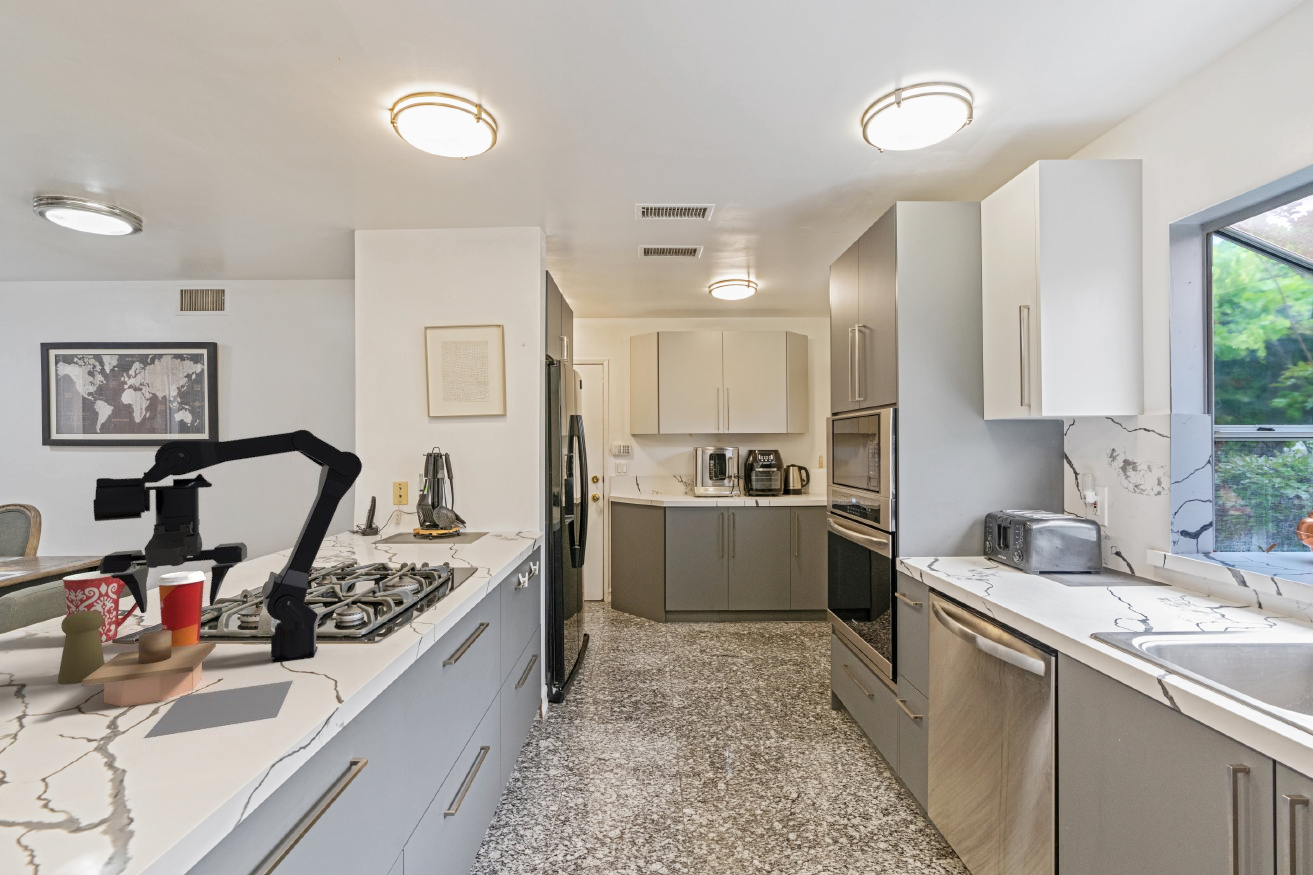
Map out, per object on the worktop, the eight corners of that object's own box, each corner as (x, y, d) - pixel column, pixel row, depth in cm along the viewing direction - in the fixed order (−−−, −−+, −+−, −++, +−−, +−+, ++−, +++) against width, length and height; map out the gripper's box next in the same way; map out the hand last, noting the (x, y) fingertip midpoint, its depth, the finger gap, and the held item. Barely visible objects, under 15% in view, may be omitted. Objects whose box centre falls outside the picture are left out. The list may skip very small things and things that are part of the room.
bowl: (207, 675, 103) (207, 649, 103) (186, 699, 93) (186, 670, 93) (124, 686, 98) (125, 658, 99) (93, 713, 88) (93, 682, 88)
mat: (293, 682, 99) (293, 680, 99) (276, 719, 85) (276, 716, 85) (180, 698, 93) (180, 696, 93) (143, 740, 80) (143, 737, 80)
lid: (215, 646, 104) (215, 618, 104) (192, 671, 92) (192, 639, 92) (120, 657, 99) (120, 628, 99) (82, 685, 87) (82, 652, 87)
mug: (58, 651, 117) (59, 581, 117) (64, 640, 124) (65, 574, 124) (144, 637, 125) (144, 572, 125) (145, 628, 132) (145, 566, 132)
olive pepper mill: (76, 685, 99) (76, 617, 100) (47, 682, 101) (48, 616, 101) (115, 671, 105) (116, 608, 106) (88, 669, 106) (88, 607, 107)
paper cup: (174, 639, 123) (175, 570, 124) (214, 638, 124) (214, 569, 124) (145, 652, 116) (146, 578, 116) (188, 650, 116) (188, 577, 116)
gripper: (84, 525, 90) (85, 629, 90) (234, 516, 98) (235, 612, 98) (113, 517, 101) (114, 612, 100) (247, 510, 109) (248, 597, 108)
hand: (178, 608), depth 102 cm, fingers open, 9 cm apart
